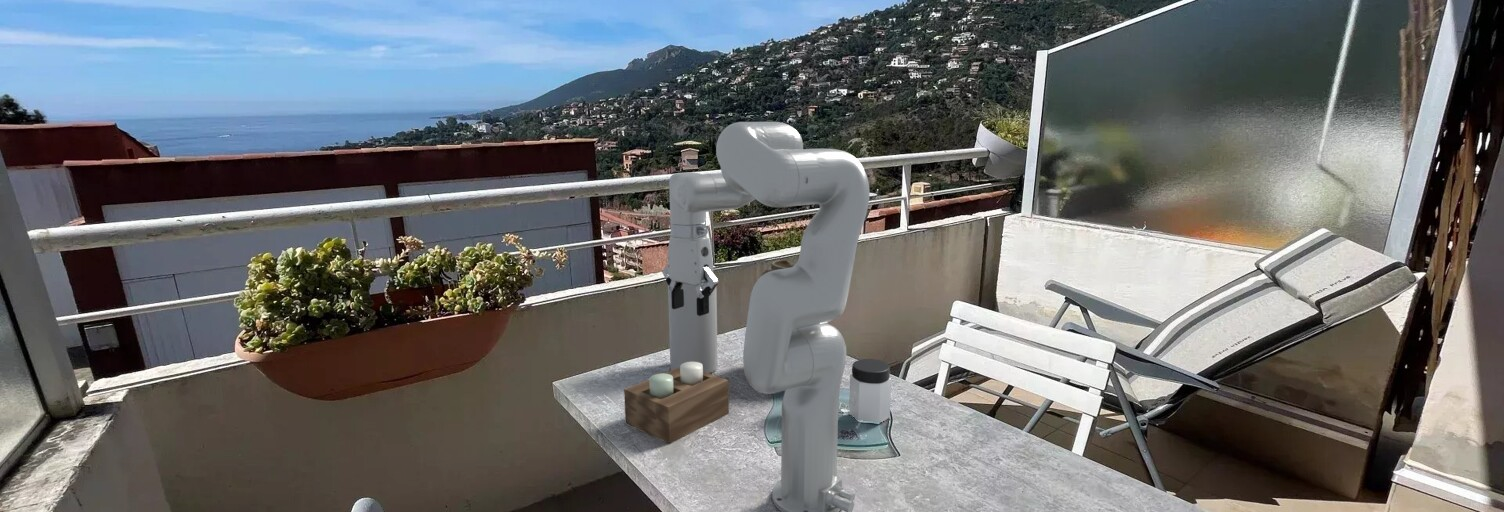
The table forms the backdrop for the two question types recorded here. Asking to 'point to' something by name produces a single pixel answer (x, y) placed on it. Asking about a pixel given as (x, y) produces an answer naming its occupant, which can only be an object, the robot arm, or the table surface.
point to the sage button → (661, 385)
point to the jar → (870, 390)
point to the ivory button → (691, 373)
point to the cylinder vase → (693, 331)
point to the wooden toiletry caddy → (677, 406)
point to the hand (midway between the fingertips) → (690, 310)
